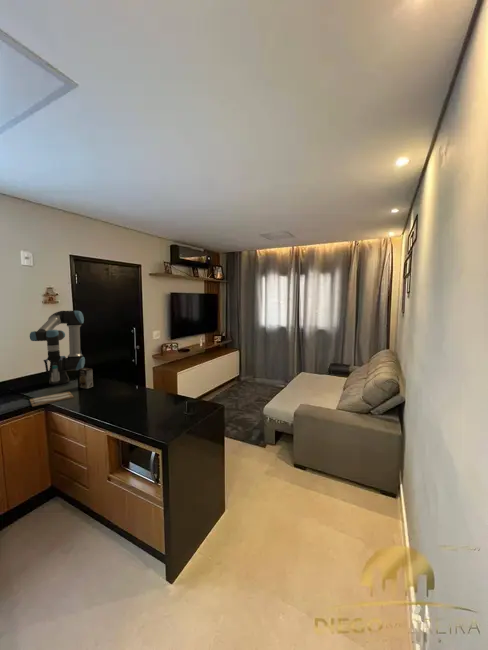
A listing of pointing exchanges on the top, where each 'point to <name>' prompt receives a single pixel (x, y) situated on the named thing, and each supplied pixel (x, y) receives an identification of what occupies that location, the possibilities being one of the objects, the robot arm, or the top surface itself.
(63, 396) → the writing board
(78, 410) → the top surface
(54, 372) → the marker
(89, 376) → the coffee box
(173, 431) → the top surface
